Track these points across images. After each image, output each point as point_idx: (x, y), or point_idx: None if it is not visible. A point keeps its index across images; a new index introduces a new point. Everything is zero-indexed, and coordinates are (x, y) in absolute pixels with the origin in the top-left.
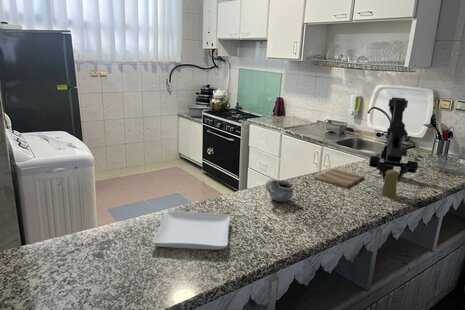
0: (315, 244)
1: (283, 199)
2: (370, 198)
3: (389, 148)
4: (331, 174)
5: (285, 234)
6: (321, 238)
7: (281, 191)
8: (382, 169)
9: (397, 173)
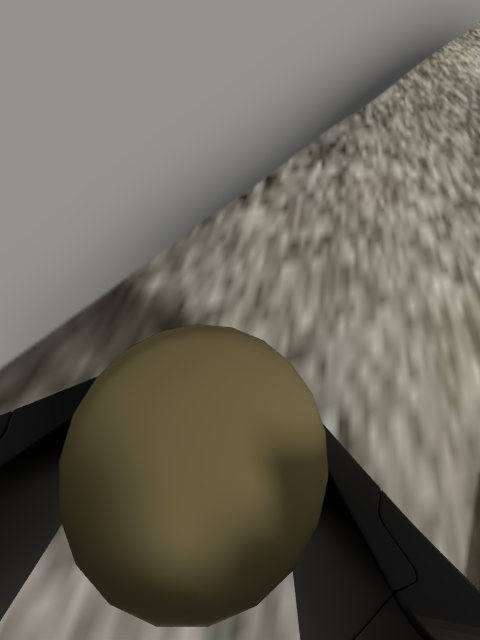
0: (444, 46)
1: None
2: (334, 325)
3: None
4: None
5: None
6: (441, 59)
7: None
8: (424, 545)
9: (120, 358)
